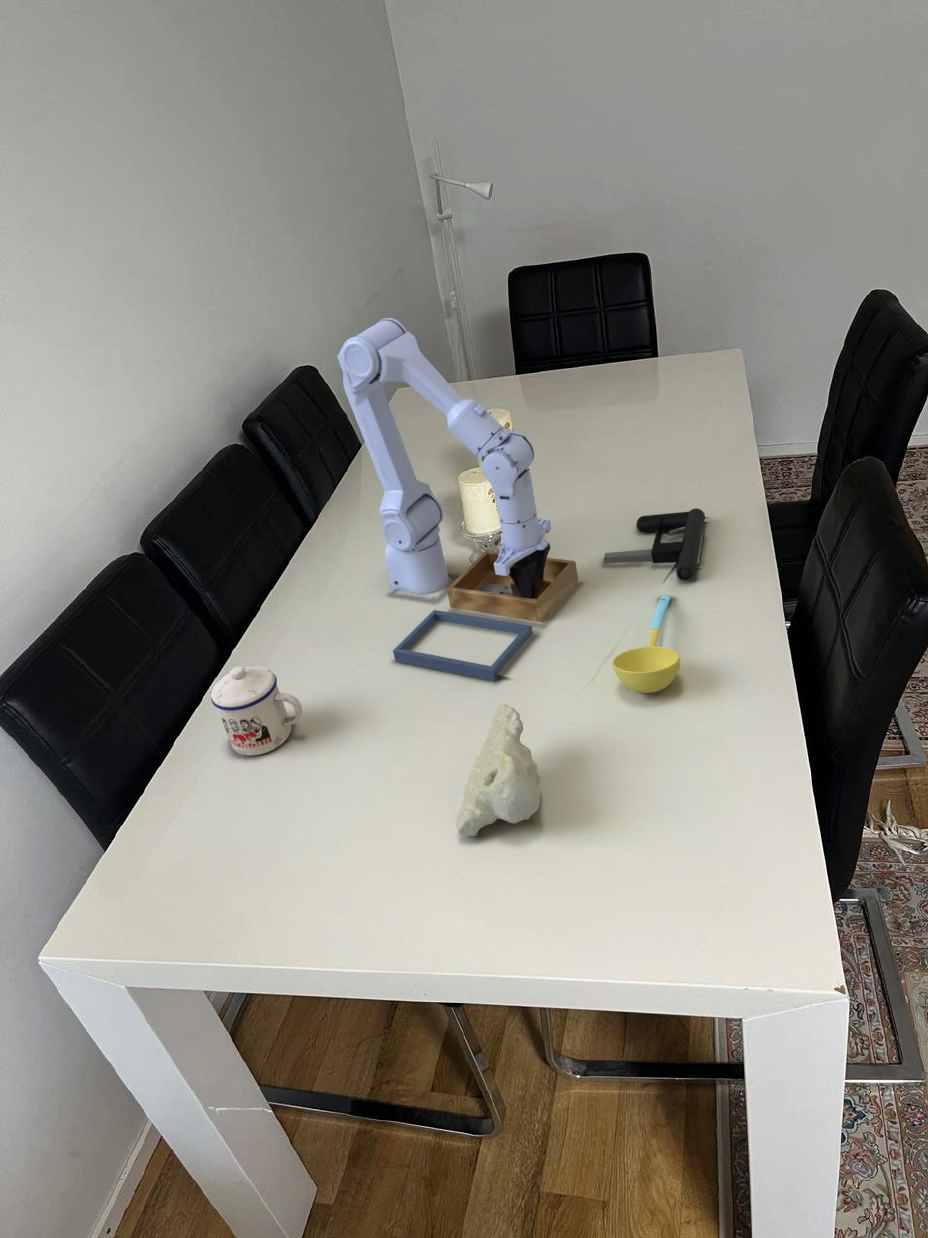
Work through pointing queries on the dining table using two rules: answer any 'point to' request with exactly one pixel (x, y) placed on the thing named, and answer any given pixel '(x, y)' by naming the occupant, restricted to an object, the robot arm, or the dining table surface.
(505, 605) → the wooden box
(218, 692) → the teacup with lid
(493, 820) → the white rock
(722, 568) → the dining table surface
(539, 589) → the fork
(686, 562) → the submachine gun
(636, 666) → the ladle
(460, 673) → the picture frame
